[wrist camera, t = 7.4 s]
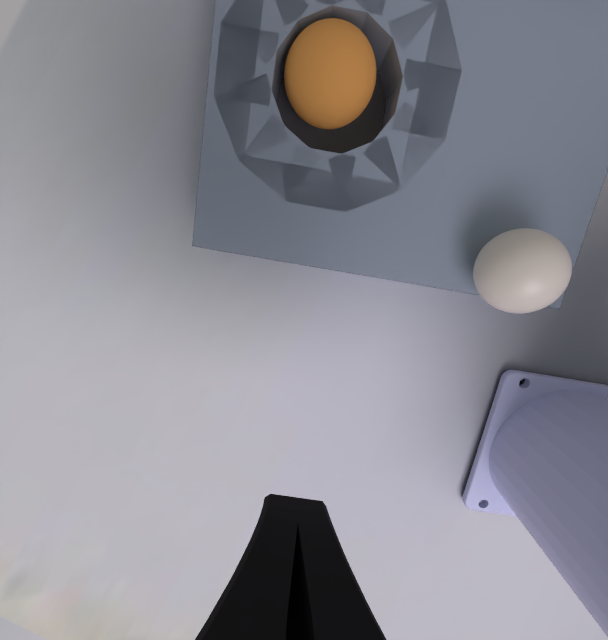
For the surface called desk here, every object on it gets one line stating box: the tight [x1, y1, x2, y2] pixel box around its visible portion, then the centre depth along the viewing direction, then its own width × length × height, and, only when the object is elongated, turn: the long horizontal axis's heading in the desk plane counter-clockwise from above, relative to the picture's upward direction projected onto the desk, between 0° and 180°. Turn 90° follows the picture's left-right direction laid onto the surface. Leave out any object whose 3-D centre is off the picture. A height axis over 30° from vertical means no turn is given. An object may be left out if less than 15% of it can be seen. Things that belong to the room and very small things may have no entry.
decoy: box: [473, 228, 572, 314], centre depth 13 cm, size 3×3×3 cm
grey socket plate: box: [192, 0, 608, 309], centre depth 14 cm, size 15×13×2 cm
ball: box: [284, 18, 377, 129], centre depth 13 cm, size 3×3×3 cm
